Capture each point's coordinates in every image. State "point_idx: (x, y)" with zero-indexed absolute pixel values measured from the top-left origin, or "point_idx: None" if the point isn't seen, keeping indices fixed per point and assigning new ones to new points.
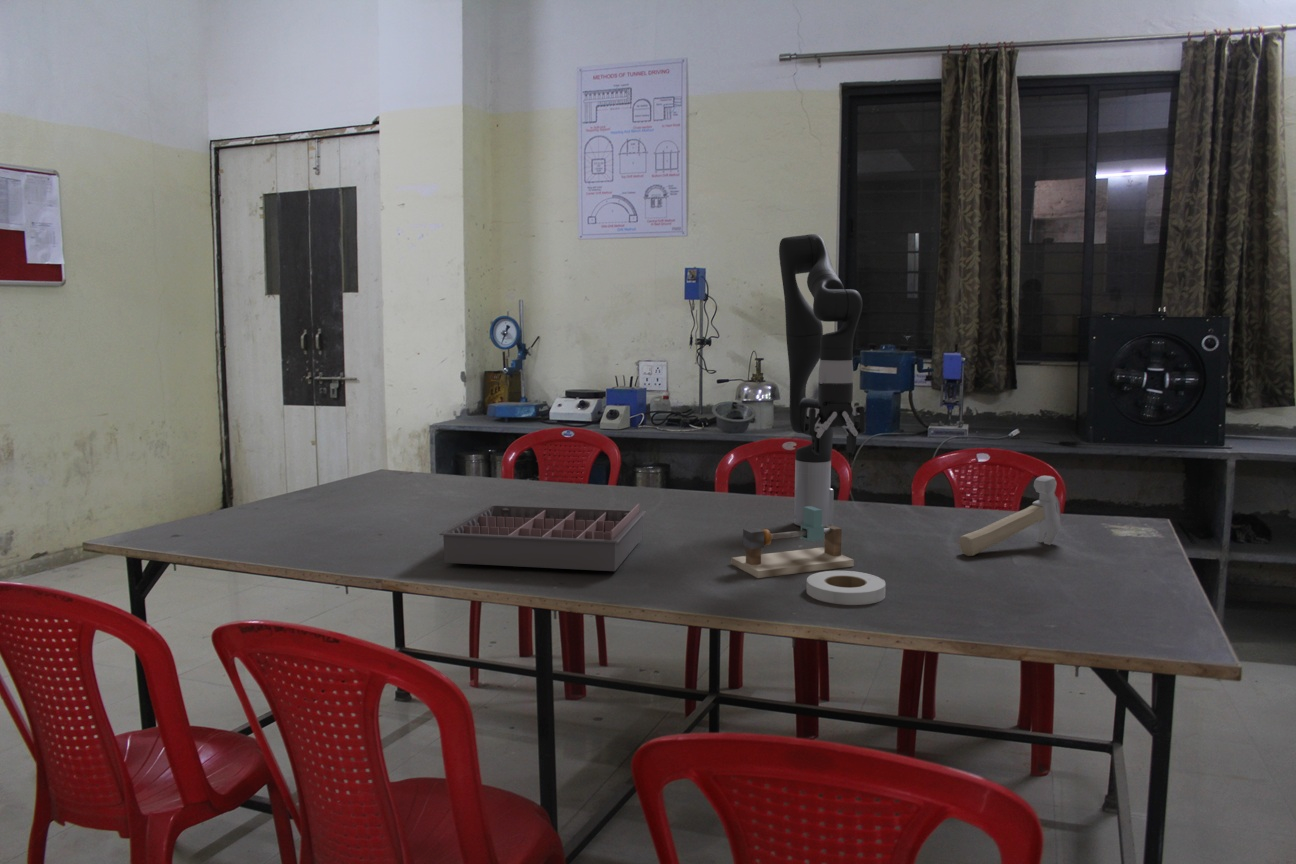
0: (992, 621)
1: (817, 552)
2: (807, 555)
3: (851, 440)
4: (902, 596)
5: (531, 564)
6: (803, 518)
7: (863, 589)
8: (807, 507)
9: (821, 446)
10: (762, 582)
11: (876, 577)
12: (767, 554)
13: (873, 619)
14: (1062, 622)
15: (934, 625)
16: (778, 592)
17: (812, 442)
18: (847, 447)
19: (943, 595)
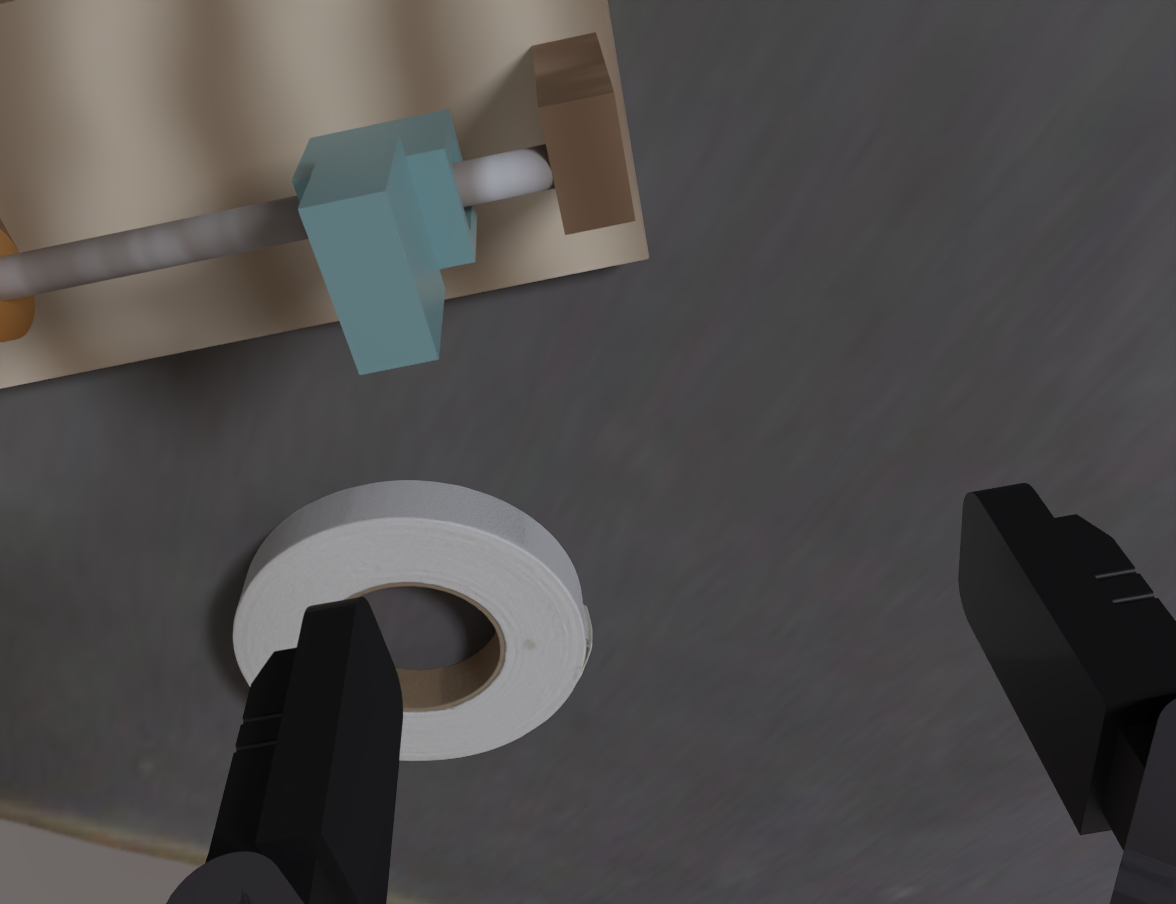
0: (768, 861)
1: (481, 33)
2: (382, 105)
3: (1046, 756)
4: (630, 669)
5: None
6: (315, 169)
7: (447, 736)
8: (331, 242)
9: (392, 811)
10: (37, 436)
11: (571, 631)
12: (80, 13)
13: (413, 826)
14: (954, 878)
15: (579, 871)
16: (110, 574)
17: (232, 804)
18: (994, 559)
19: (792, 675)
